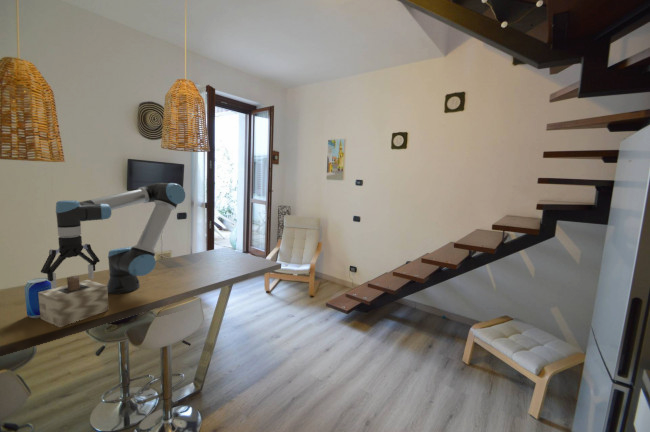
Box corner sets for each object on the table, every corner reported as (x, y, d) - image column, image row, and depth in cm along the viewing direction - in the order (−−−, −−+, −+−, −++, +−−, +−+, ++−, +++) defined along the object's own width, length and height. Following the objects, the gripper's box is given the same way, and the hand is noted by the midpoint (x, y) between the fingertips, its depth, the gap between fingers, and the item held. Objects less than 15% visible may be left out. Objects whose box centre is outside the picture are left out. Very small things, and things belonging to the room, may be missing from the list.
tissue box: (89, 303, 139) (87, 279, 137) (108, 310, 132) (107, 285, 131) (40, 318, 122) (38, 292, 121) (60, 327, 116) (58, 299, 114)
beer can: (33, 320, 121) (30, 284, 119) (23, 316, 124) (19, 281, 122) (58, 312, 128) (55, 278, 127) (47, 308, 132) (44, 275, 130)
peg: (82, 300, 128) (80, 276, 126) (71, 303, 124) (69, 279, 123) (77, 298, 129) (75, 275, 128) (67, 301, 126) (64, 277, 124)
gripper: (97, 231, 136) (100, 273, 138) (26, 239, 113) (31, 290, 116) (106, 232, 133) (109, 276, 135) (36, 242, 110) (40, 294, 113)
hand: (73, 282), depth 126 cm, fingers open, 13 cm apart
